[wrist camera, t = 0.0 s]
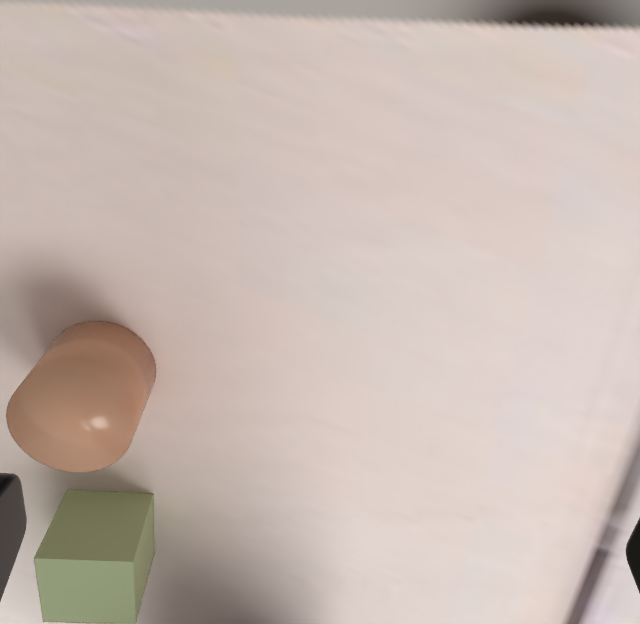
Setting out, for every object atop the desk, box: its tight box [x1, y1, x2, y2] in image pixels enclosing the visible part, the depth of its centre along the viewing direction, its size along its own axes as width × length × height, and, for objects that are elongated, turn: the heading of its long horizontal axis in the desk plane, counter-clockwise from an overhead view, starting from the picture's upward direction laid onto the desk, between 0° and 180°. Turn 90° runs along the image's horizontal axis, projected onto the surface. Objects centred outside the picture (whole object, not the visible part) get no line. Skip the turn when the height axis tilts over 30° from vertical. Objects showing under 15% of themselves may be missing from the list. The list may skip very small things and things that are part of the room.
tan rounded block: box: [6, 321, 156, 472], centre depth 22 cm, size 4×4×4 cm
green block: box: [34, 490, 154, 624], centre depth 26 cm, size 4×4×4 cm
